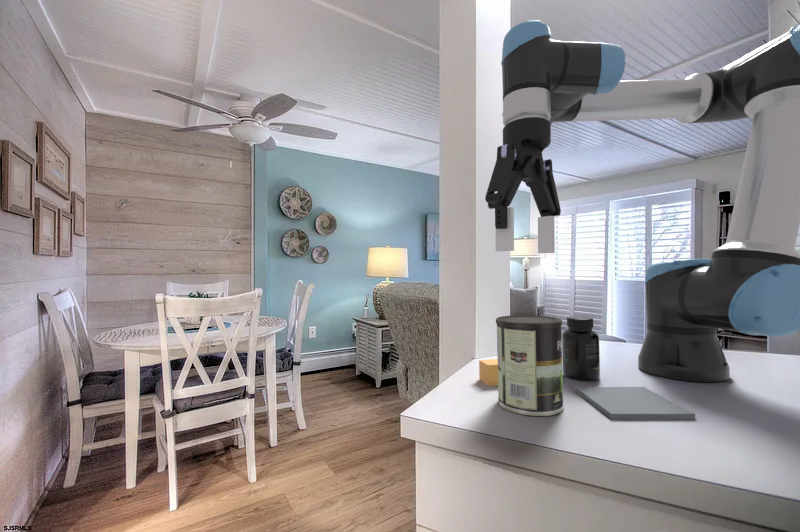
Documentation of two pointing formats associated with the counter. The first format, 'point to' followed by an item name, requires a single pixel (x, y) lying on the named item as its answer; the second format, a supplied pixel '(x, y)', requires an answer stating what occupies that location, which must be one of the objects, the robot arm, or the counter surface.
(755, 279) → the robot arm
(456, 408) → the counter surface
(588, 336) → the supplement bottle
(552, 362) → the coffee can
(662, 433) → the counter surface
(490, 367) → the orange cube
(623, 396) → the slate mat
